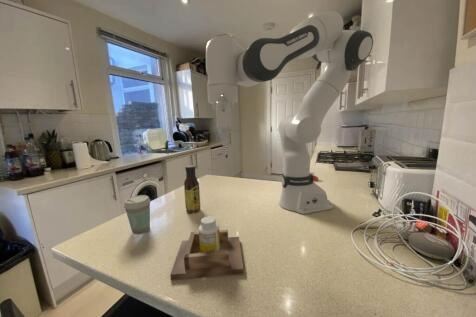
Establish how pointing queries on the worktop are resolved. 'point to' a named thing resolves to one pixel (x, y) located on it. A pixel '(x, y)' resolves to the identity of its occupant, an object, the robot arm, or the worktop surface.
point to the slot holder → (207, 258)
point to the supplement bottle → (209, 235)
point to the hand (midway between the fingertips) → (225, 143)
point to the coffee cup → (138, 213)
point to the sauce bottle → (191, 191)
